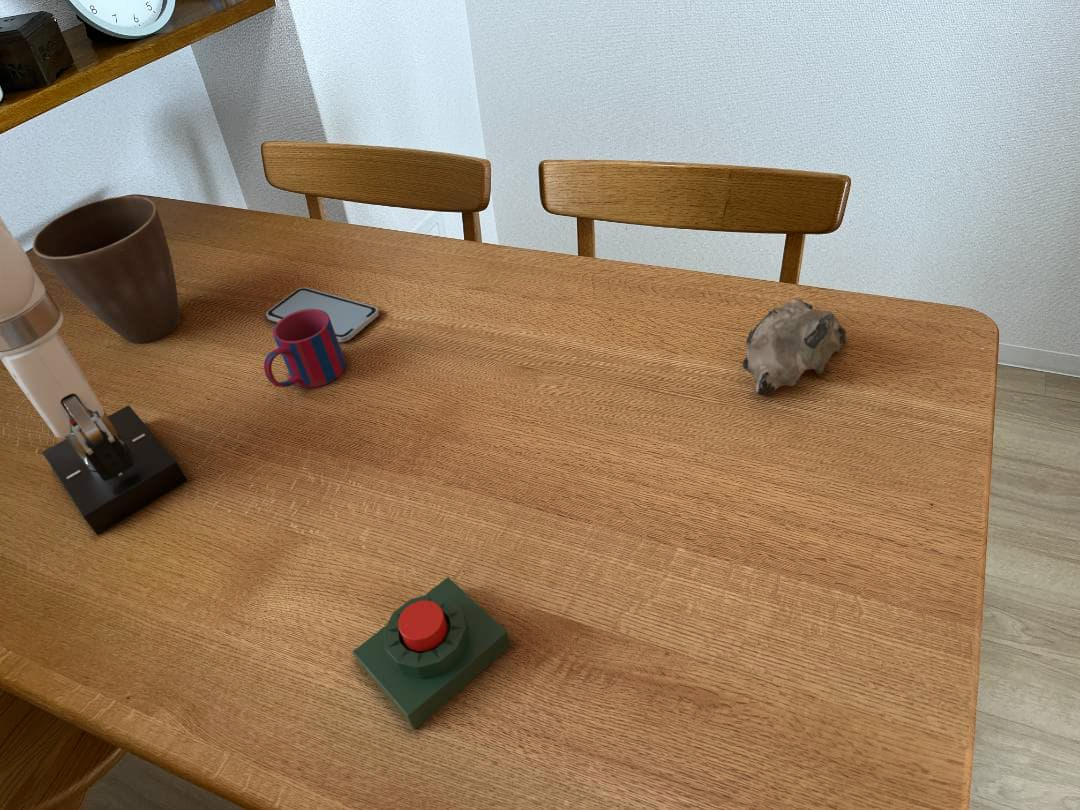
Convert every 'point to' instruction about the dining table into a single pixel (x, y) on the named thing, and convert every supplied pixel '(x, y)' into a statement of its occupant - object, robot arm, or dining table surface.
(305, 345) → the mug
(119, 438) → the hob knob
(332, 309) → the smartphone
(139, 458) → the panel
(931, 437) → the dining table surface
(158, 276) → the flower pot
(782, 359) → the decorative stone
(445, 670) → the block
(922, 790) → the dining table surface
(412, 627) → the button
